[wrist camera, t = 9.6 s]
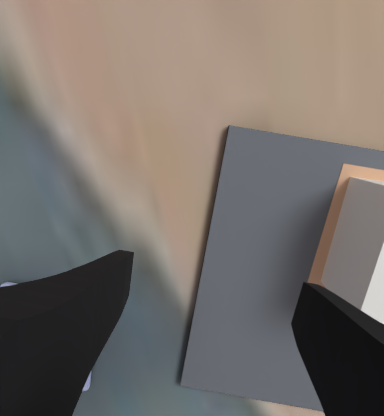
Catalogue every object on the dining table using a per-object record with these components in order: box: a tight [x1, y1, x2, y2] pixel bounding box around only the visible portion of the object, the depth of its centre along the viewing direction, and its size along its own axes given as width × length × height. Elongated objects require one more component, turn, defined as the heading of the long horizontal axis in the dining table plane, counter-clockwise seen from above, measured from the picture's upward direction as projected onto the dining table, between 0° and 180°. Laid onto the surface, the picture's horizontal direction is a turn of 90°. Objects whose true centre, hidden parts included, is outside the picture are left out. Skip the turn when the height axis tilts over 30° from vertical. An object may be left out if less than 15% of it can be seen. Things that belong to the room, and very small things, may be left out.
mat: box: [180, 126, 384, 411], centre depth 21 cm, size 22×16×1 cm
